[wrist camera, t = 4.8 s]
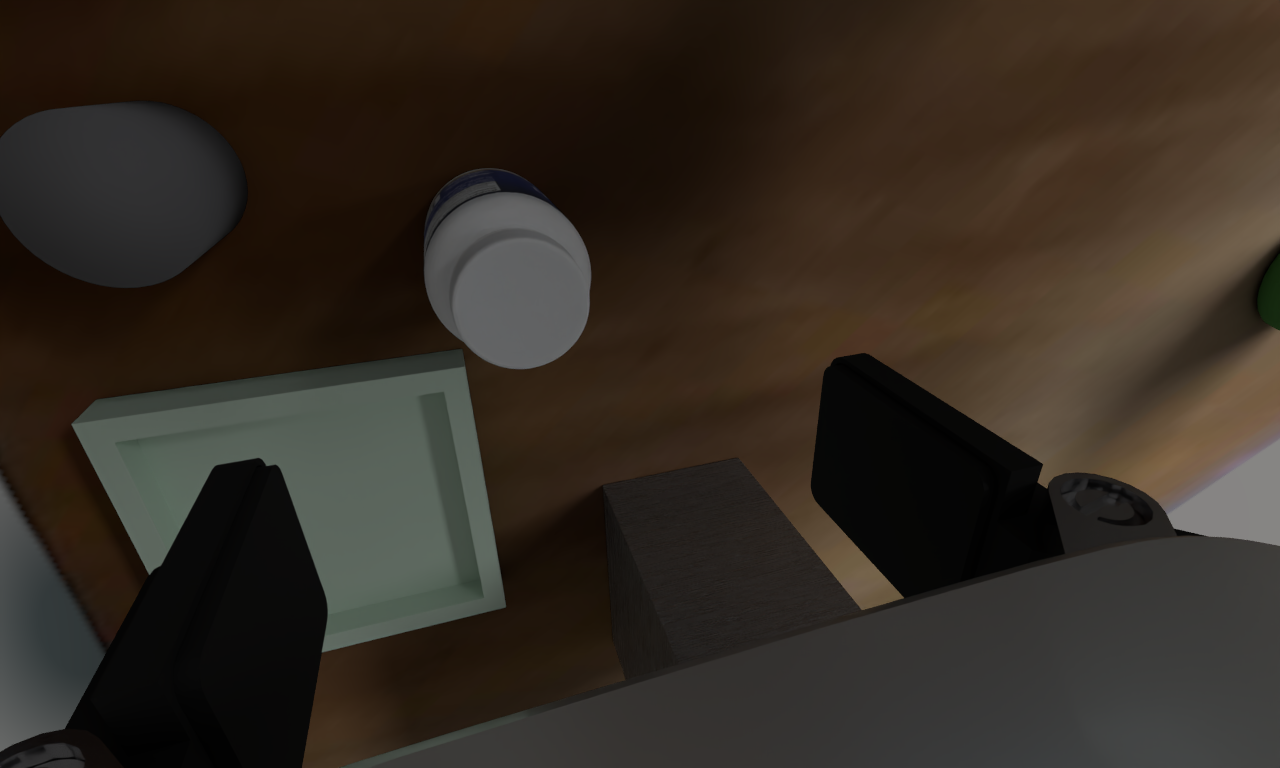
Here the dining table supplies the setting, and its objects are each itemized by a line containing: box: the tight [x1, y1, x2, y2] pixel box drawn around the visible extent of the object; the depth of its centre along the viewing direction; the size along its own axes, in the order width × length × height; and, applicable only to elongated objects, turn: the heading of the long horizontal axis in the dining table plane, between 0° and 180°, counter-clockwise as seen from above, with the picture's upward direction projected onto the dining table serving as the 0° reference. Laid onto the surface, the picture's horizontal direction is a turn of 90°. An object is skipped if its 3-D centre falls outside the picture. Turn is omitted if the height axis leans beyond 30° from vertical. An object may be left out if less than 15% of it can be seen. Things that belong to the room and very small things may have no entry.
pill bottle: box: [424, 168, 591, 369], centre depth 22 cm, size 5×5×10 cm
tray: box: [71, 349, 506, 652], centre depth 28 cm, size 14×14×2 cm
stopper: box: [0, 101, 248, 288], centre depth 20 cm, size 5×5×5 cm
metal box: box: [603, 458, 862, 680], centre depth 31 cm, size 9×13×16 cm
